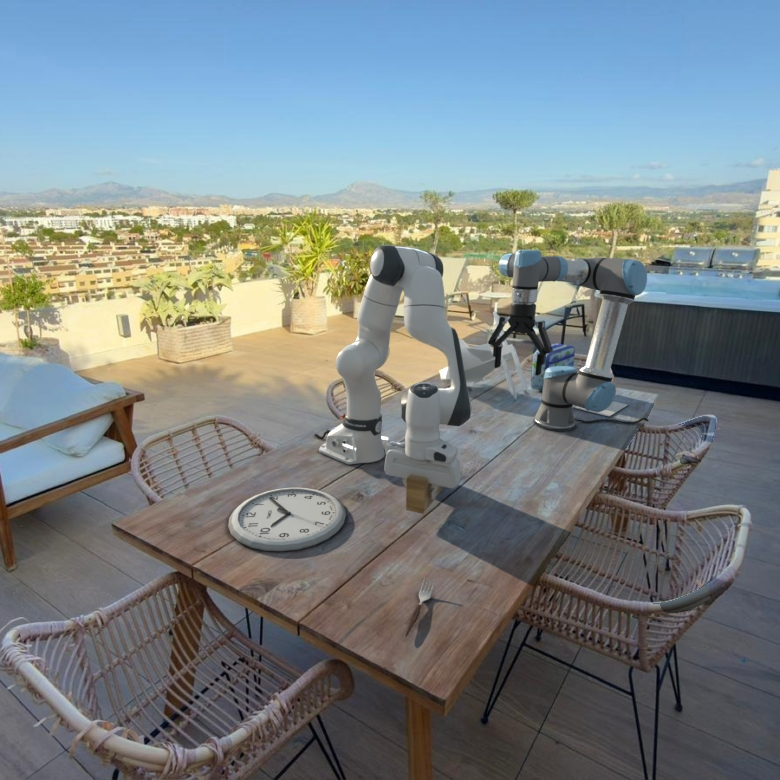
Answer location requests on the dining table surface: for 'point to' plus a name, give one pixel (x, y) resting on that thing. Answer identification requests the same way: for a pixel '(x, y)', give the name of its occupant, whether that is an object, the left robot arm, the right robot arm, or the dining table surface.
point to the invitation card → (608, 409)
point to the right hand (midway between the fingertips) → (517, 370)
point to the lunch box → (552, 362)
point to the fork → (423, 597)
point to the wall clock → (287, 519)
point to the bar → (419, 493)
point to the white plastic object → (487, 363)
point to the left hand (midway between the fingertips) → (421, 495)
